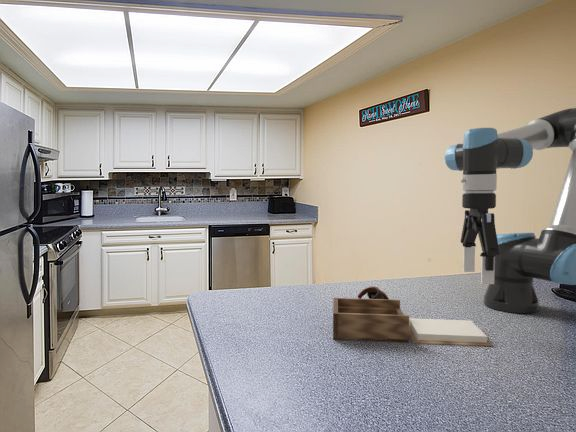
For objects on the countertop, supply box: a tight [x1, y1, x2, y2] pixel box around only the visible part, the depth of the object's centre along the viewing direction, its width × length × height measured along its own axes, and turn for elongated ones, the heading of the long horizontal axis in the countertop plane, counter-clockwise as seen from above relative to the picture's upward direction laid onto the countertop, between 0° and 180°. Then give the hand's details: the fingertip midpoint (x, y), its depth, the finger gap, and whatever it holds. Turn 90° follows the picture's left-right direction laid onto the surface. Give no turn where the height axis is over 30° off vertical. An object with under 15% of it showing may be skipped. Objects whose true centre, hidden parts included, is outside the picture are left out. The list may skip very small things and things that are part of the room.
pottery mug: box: [357, 286, 389, 299], centre depth 126 cm, size 12×10×8 cm
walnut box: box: [332, 297, 410, 344], centre depth 107 cm, size 18×15×6 cm
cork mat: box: [409, 325, 493, 347], centre depth 105 cm, size 18×15×1 cm
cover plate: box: [409, 317, 488, 343], centre depth 105 cm, size 16×12×2 cm
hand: (477, 277), depth 103 cm, fingers open, 13 cm apart
